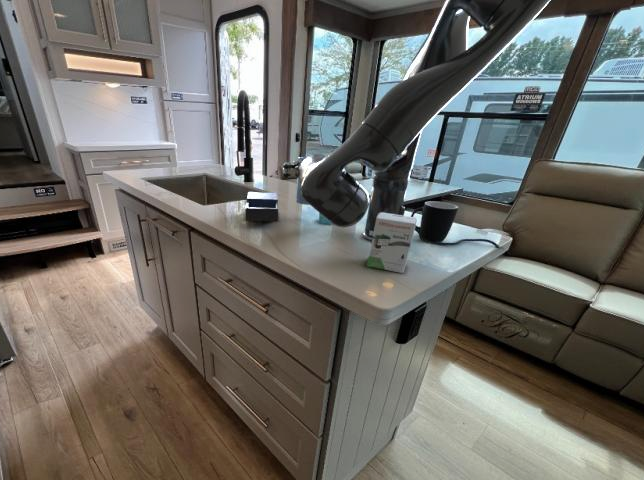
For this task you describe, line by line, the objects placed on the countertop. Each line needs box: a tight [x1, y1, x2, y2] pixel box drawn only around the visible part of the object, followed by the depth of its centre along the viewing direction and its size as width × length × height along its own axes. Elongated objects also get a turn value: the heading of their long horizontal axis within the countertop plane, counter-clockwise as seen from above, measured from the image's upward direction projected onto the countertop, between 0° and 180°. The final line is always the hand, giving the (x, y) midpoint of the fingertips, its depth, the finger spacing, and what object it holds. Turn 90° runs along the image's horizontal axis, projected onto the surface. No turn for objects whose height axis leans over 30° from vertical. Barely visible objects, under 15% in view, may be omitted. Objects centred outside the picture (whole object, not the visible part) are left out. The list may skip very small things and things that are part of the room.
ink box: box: [366, 213, 418, 274], centre depth 72 cm, size 9×5×12 cm, turn 69°
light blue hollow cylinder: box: [295, 156, 311, 206], centre depth 76 cm, size 6×6×10 cm
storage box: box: [245, 191, 279, 222], centre depth 103 cm, size 10×19×7 cm, turn 3°
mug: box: [410, 200, 459, 243], centre depth 93 cm, size 12×9×10 cm
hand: (309, 166), depth 76 cm, fingers closed on light blue hollow cylinder, 6 cm apart
